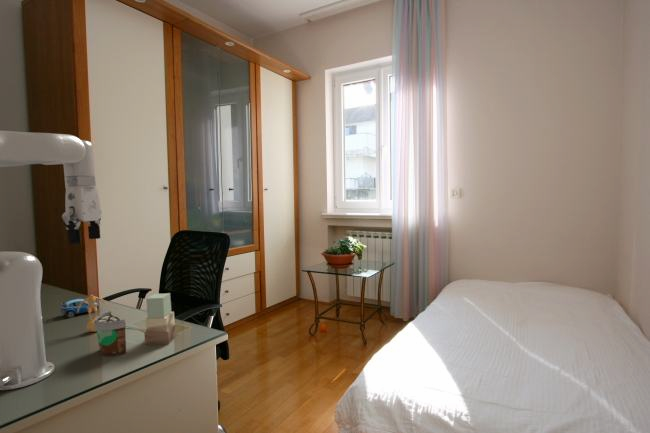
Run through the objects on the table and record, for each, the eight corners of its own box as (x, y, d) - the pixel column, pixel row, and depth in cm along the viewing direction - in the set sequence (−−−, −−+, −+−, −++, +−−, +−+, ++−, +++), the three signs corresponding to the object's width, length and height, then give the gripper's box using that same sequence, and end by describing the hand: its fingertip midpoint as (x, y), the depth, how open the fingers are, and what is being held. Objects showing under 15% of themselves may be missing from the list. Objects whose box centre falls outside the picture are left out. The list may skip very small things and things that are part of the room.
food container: (89, 350, 109) (86, 316, 108) (112, 343, 114) (110, 310, 113) (103, 362, 101) (100, 326, 100) (128, 354, 105) (125, 319, 105)
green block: (164, 317, 112) (163, 298, 111) (147, 318, 112) (146, 298, 112) (171, 312, 117) (170, 293, 116) (155, 312, 117) (154, 293, 117)
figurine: (79, 336, 120) (76, 299, 119) (79, 330, 125) (76, 295, 124) (109, 330, 125) (106, 294, 124) (107, 325, 129) (105, 290, 129)
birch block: (167, 331, 112) (166, 318, 112) (146, 332, 112) (145, 319, 111) (174, 324, 118) (174, 311, 117) (155, 324, 118) (154, 312, 117)
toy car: (100, 311, 145) (99, 297, 145) (62, 319, 137) (61, 304, 137) (96, 308, 149) (95, 294, 149) (60, 316, 141) (58, 301, 141)
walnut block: (169, 344, 112) (168, 331, 111) (145, 345, 112) (144, 332, 111) (177, 335, 119) (176, 323, 118) (155, 336, 119) (154, 324, 118)
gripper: (75, 182, 102) (80, 244, 103) (109, 182, 119) (113, 236, 120) (46, 183, 101) (52, 245, 103) (85, 183, 119) (89, 237, 120)
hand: (85, 240), depth 111 cm, fingers open, 9 cm apart
